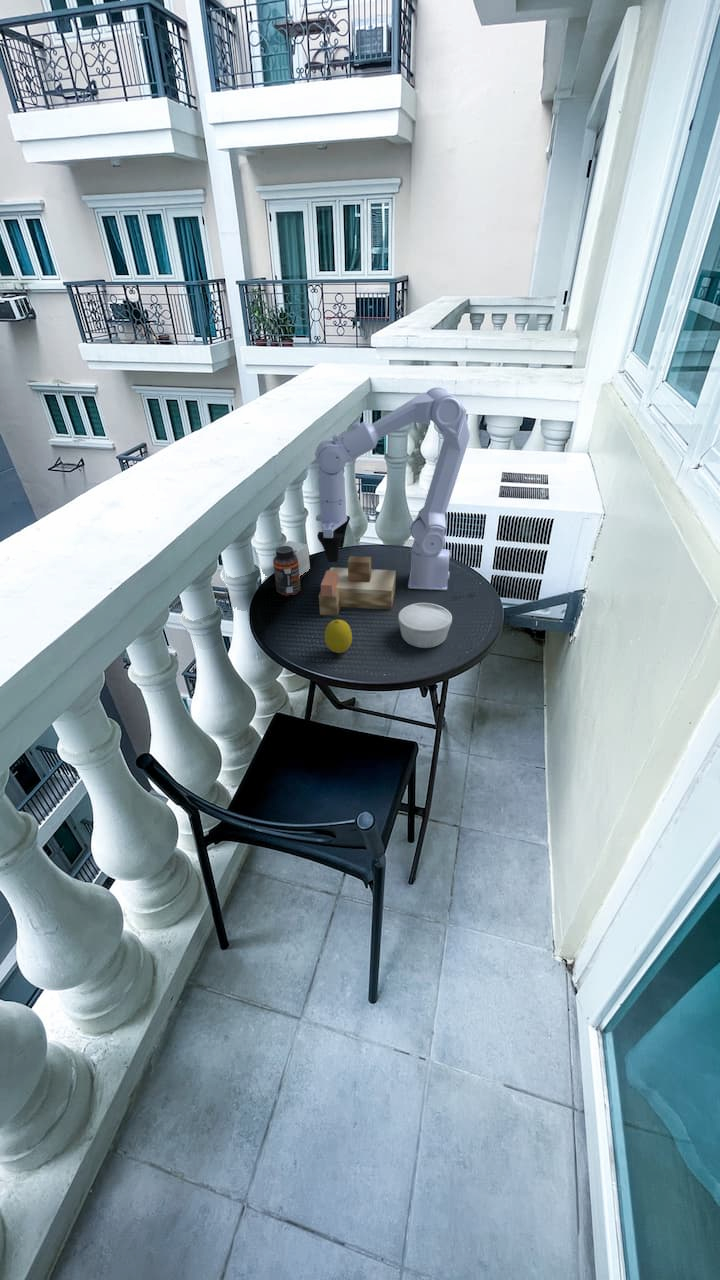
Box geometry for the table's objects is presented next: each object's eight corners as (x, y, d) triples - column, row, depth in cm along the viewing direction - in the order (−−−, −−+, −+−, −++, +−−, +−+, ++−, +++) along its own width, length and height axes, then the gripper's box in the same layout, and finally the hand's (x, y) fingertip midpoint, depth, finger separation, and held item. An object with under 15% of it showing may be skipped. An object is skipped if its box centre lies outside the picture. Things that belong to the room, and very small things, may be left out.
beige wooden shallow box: (395, 588, 134) (395, 570, 131) (389, 618, 122) (389, 599, 119) (331, 585, 136) (330, 567, 133) (320, 614, 124) (318, 595, 122)
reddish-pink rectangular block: (338, 581, 126) (337, 570, 125) (332, 596, 121) (331, 585, 119) (327, 581, 127) (326, 570, 125) (321, 596, 121) (320, 584, 119)
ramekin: (452, 624, 120) (454, 604, 117) (448, 654, 111) (450, 633, 108) (401, 620, 122) (402, 600, 119) (394, 648, 113) (394, 627, 110)
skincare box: (290, 565, 146) (288, 540, 141) (310, 569, 143) (308, 543, 139) (278, 575, 141) (275, 549, 137) (299, 579, 139) (296, 553, 135)
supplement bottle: (296, 598, 131) (292, 555, 125) (273, 596, 132) (267, 553, 126) (303, 586, 136) (300, 544, 129) (281, 584, 137) (276, 543, 130)
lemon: (350, 661, 110) (348, 628, 105) (323, 659, 110) (320, 626, 106) (354, 646, 114) (353, 613, 109) (329, 643, 115) (326, 611, 110)
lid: (395, 574, 131) (396, 551, 128) (391, 594, 123) (391, 571, 120) (330, 571, 134) (329, 548, 130) (322, 591, 125) (320, 567, 122)
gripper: (321, 486, 127) (325, 540, 134) (307, 509, 115) (312, 567, 123) (351, 487, 126) (353, 541, 133) (340, 510, 114) (343, 568, 122)
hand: (335, 554), depth 128 cm, fingers open, 7 cm apart
